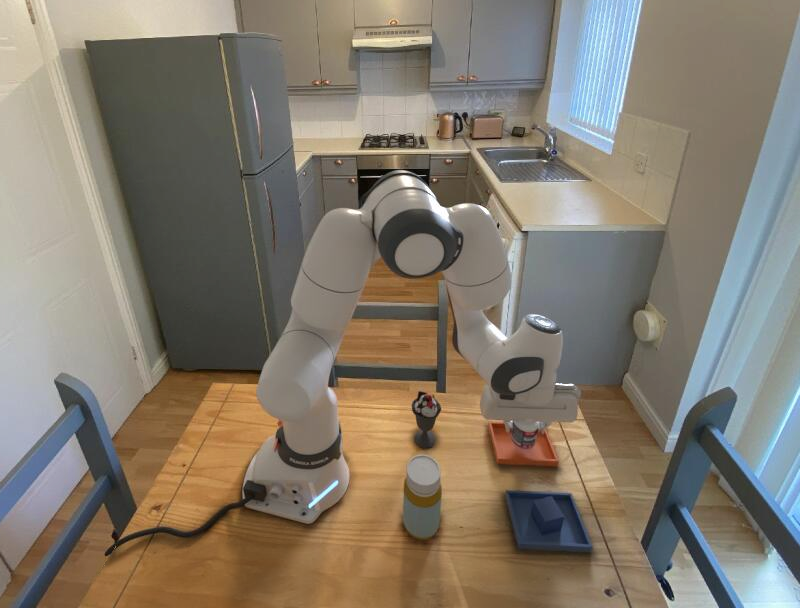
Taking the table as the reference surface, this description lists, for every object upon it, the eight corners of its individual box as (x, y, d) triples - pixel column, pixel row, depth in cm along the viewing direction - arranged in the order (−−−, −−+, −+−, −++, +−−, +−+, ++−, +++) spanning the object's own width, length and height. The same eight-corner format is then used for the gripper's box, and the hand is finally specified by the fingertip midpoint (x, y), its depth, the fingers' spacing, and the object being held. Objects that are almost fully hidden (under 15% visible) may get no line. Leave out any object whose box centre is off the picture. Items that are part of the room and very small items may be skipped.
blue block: (542, 535, 79) (545, 521, 77) (530, 513, 82) (533, 500, 81) (561, 530, 79) (564, 516, 78) (548, 509, 83) (551, 495, 82)
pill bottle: (522, 454, 93) (527, 425, 89) (505, 437, 97) (509, 408, 93) (539, 445, 95) (545, 415, 91) (522, 428, 99) (527, 399, 96)
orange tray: (497, 465, 93) (498, 458, 92) (487, 427, 102) (488, 421, 101) (557, 467, 92) (558, 461, 91) (542, 429, 101) (543, 423, 100)
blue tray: (517, 550, 77) (519, 543, 76) (504, 496, 86) (505, 489, 85) (590, 554, 76) (592, 547, 75) (569, 499, 85) (571, 492, 85)
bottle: (438, 545, 78) (442, 491, 72) (400, 537, 79) (401, 483, 73) (439, 508, 84) (443, 455, 78) (405, 501, 86) (406, 449, 80)
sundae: (436, 454, 95) (439, 405, 89) (407, 446, 97) (409, 397, 91) (441, 431, 101) (444, 383, 95) (414, 424, 103) (415, 376, 97)
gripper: (576, 374, 92) (565, 421, 97) (481, 371, 93) (476, 417, 98) (588, 396, 86) (576, 445, 91) (487, 393, 87) (481, 441, 92)
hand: (523, 430), depth 95 cm, fingers closed on pill bottle, 5 cm apart
